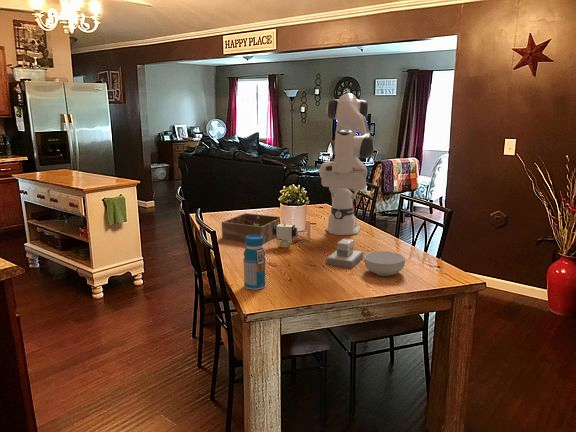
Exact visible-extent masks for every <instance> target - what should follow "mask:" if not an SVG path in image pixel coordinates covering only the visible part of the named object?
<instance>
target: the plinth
mask: <svg viewBox="0 0 576 432" xmlns="http://www.w3.org/2000/svg"><path fill="white" fill-rule="evenodd" d="M363 258H364V252H363V251H361V250H354V249H353V253H352V254H351V255H350V256H349V257H340V256H337V249H336V250H335V251H333V252H332V253H331V254H330V255H328V256H327V257H326V259H325V264H326V265H331V266H338V267H345V268H349V269H352V268H353V267H354V266H356V265H357V264H358V263H359V262H360V261H361V260H362V259H363Z"/></svg>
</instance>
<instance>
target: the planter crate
mask: <svg viewBox="0 0 576 432" xmlns="http://www.w3.org/2000/svg"><path fill="white" fill-rule="evenodd" d="M255 216H258V217H259V219H256V218H255V219H254V223H255V224H257V225H258V224H259V226H252V225H249V223H248V221H250V222H251V223H252V220H253V218H254V217H255ZM280 217H281V216H276V215H275V216H274V215H266V214H257V213H247V212H244V213H241V214H239V215H237V216H234V217H232V218H229V219H227V220H224V221H222V222H221V237H222V240H228V241H235V242H242V243H245V237H246V236H248V235H261V236H262V237H263V245H264V244H266V243H267V242H270V241H271V240H273V239H276V238H275V235H273V227H275V226H276V225H277V224H278V222H280ZM244 220H248V221H244ZM242 221H244V224H242ZM260 226H261V227H260Z"/></svg>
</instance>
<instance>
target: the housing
mask: <svg viewBox="0 0 576 432" xmlns="http://www.w3.org/2000/svg"><path fill="white" fill-rule="evenodd" d="M336 250H337V256H340V257H349V256H350V255H351V254H352V253H353V250H354V239H349V238H342V239H341V240H339V241H338V242H337V243H336Z"/></svg>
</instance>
